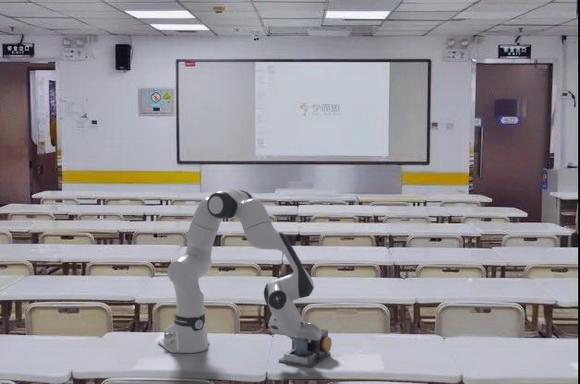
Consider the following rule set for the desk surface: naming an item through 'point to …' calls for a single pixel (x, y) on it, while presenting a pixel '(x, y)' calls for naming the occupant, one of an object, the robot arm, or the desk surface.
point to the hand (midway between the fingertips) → (301, 339)
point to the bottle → (300, 346)
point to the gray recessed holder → (310, 352)
